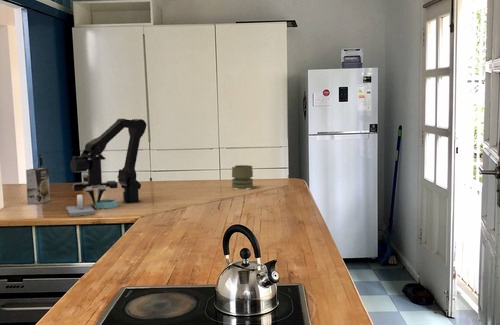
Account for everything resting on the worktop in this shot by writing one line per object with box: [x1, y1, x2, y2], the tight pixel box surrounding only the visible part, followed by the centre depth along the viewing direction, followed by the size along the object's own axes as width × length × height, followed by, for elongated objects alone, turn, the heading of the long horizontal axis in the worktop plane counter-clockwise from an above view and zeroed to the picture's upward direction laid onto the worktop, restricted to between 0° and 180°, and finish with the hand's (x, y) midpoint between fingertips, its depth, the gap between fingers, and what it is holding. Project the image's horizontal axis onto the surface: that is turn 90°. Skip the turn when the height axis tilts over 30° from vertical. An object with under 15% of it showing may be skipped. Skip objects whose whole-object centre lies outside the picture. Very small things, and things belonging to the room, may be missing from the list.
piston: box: [231, 164, 254, 189], centre depth 284 cm, size 11×12×11 cm
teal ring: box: [93, 198, 119, 210], centre depth 236 cm, size 10×10×2 cm
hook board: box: [65, 194, 96, 217], centre depth 223 cm, size 10×15×8 cm, turn 25°
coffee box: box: [25, 167, 51, 205], centre depth 247 cm, size 9×6×16 cm
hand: (96, 204), depth 234 cm, fingers closed on teal ring, 1 cm apart
